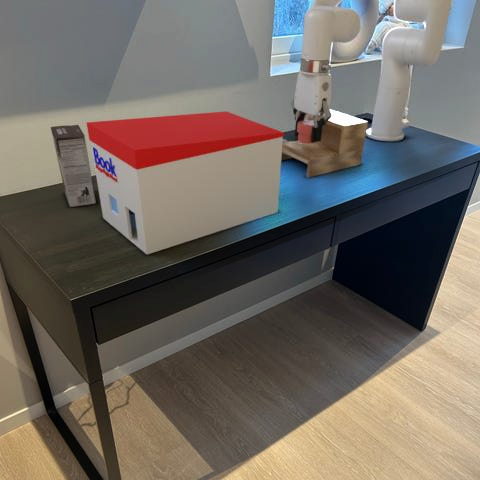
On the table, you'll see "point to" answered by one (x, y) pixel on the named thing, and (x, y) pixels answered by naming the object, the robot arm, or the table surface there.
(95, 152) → the bookstore
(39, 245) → the table surface
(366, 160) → the table surface
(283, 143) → the soldier figure
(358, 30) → the robot arm
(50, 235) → the table surface
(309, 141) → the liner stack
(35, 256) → the table surface
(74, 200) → the coffee box
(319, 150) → the wooden step block
